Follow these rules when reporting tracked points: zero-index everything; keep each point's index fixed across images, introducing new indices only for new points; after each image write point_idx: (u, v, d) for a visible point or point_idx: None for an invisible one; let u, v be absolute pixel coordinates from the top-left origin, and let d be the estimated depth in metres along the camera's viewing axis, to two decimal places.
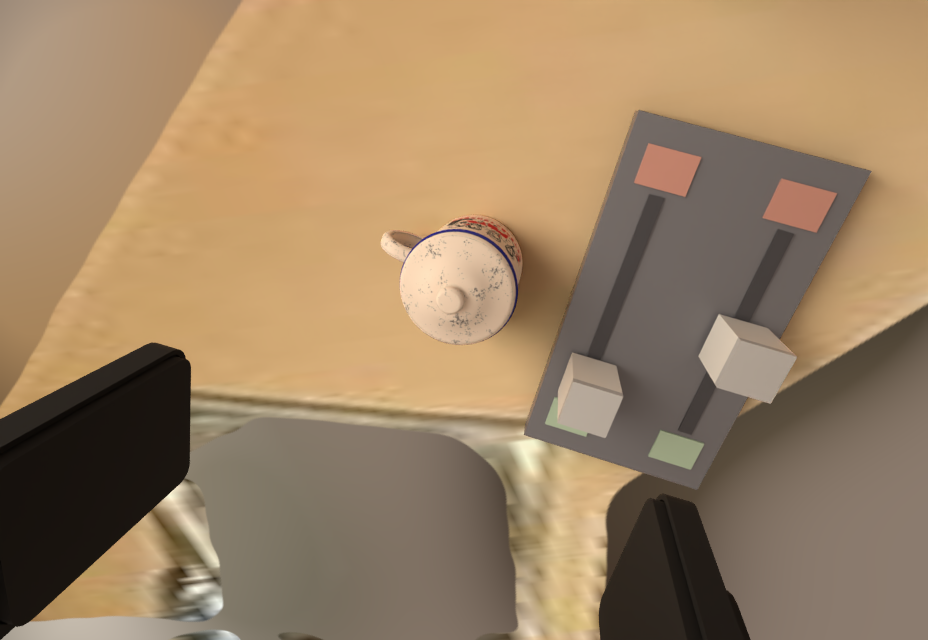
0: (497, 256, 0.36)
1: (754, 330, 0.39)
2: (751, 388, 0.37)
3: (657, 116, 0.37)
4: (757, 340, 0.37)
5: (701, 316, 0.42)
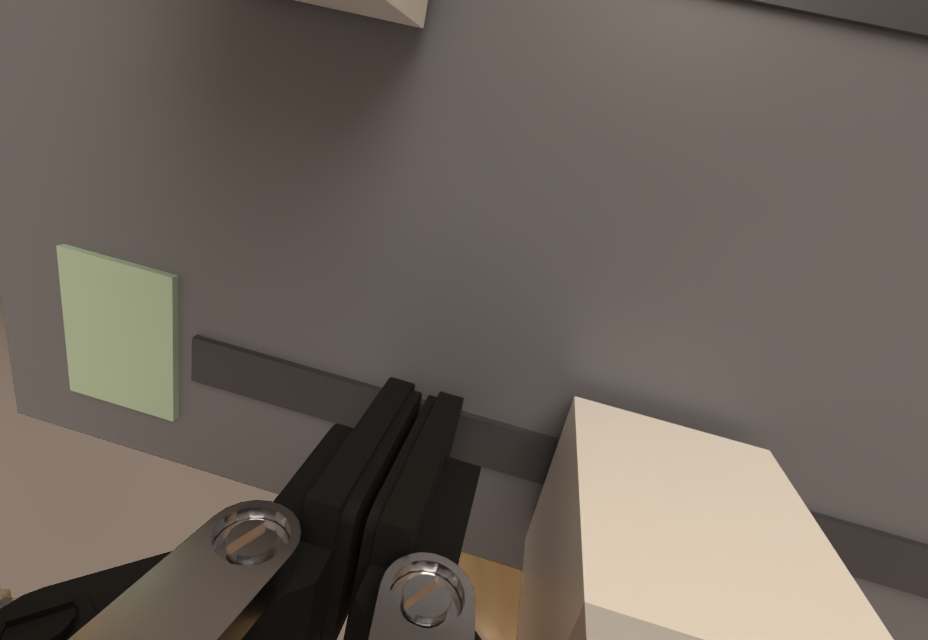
0: None
1: None
2: None
3: None
4: None
5: (674, 368, 0.10)
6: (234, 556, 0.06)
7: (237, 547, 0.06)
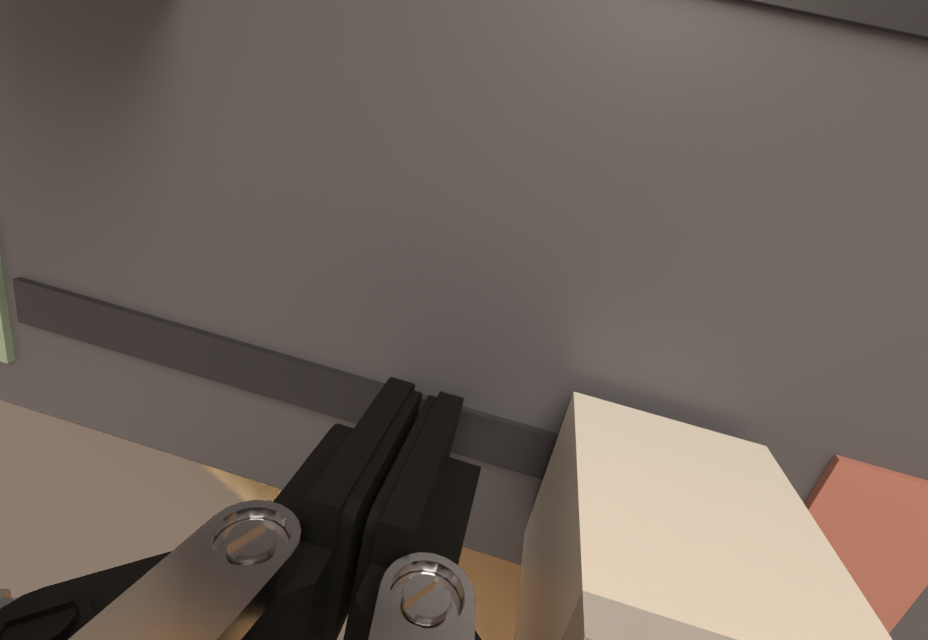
0: None
1: None
2: None
3: None
4: None
5: (444, 302, 0.11)
6: (234, 556, 0.06)
7: (237, 547, 0.06)
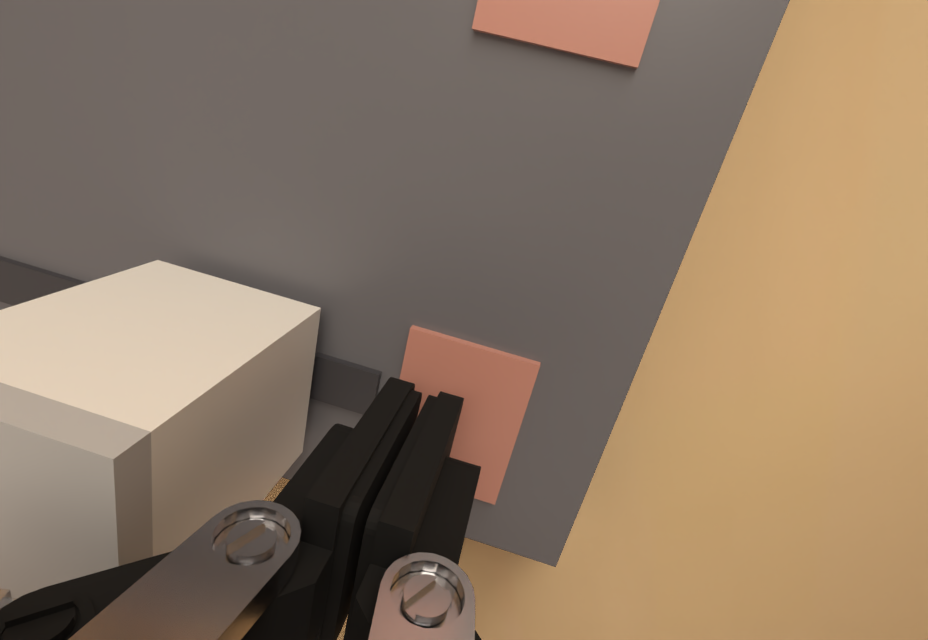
0: None
1: (267, 437, 0.10)
2: None
3: None
4: (182, 494, 0.08)
5: (67, 184, 0.12)
6: (234, 556, 0.06)
7: (237, 547, 0.06)
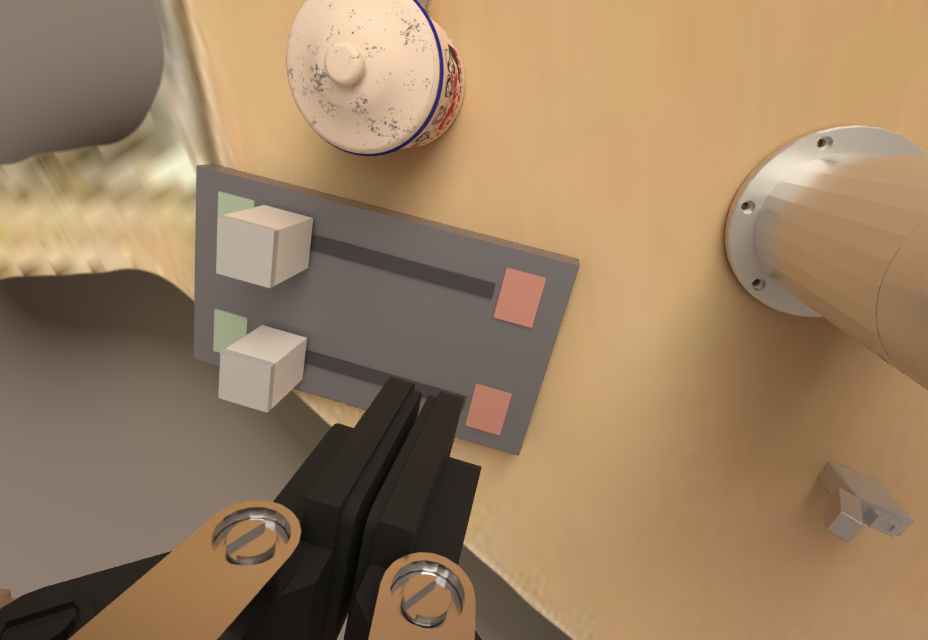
0: (412, 127, 0.28)
1: (293, 371, 0.41)
2: (228, 380, 0.38)
3: (572, 284, 0.37)
4: (278, 378, 0.38)
5: (376, 343, 0.41)
6: (234, 556, 0.06)
7: (237, 547, 0.06)
